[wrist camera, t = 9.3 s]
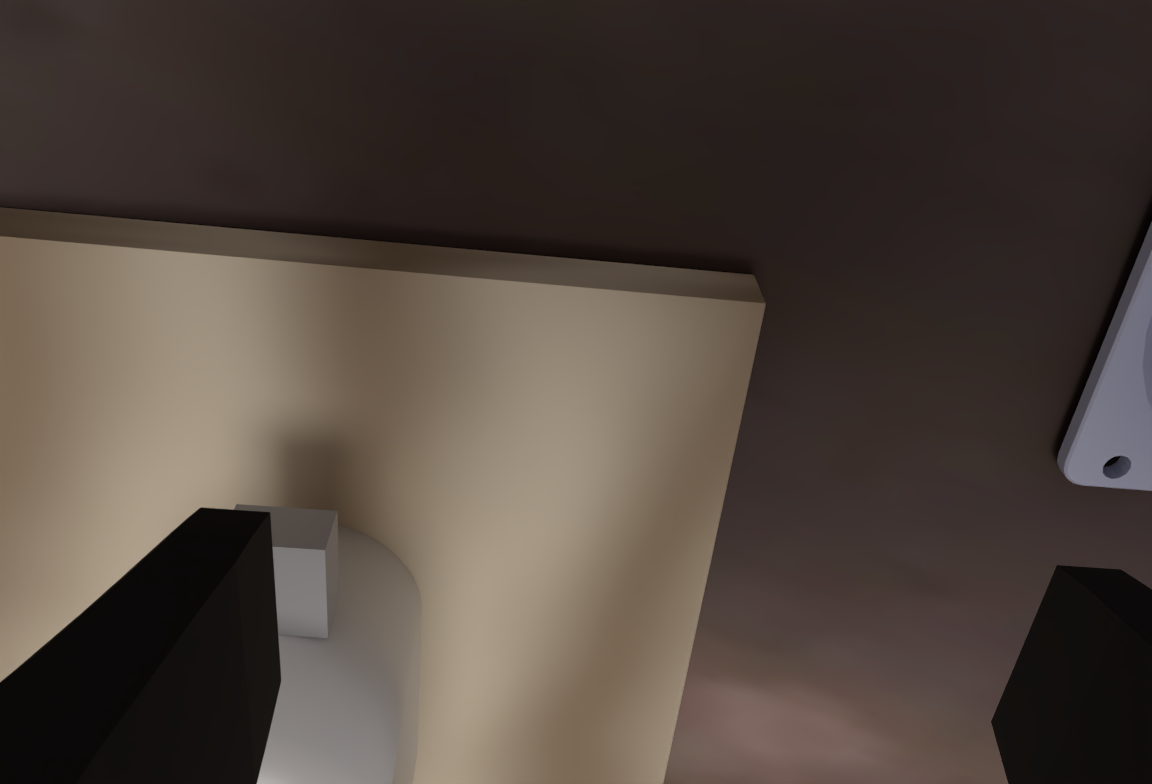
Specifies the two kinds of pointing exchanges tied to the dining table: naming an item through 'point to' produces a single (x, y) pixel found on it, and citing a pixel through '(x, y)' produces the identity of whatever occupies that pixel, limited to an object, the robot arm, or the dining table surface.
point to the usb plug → (341, 655)
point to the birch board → (391, 454)
